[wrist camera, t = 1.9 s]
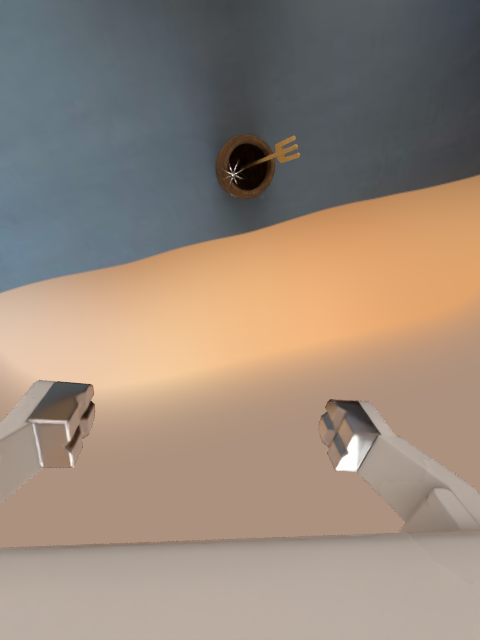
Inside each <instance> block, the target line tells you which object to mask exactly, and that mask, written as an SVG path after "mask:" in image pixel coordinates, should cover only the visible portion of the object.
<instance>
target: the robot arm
mask: <svg viewBox="0 0 480 640" xmlns="http://www.w3.org/2000/svg"><path fill="white" fill-rule="evenodd" d="M93 395H94V390H93V385H91V384H81V383H70V382H59V381H58V382H54V381H42V380H39V381H37V382H35V383H34V384H33V385H32V386H31V387H30V389H29V390H28V391H27V392H26V393H25V395H24V396H23V397H22V399H20V401H19V402H18V403H17V404H16V406H15V407H14V408H13V409H12V410H11V411H10V413H9V414H8V415H7V416H6V417H5V419H4V420H3V421H0V505H1V504H2V503H3V502H4V501H5V500H6V499H7V498H9V497H10V496H11V495H12V494H13V493H15V492H16V491H17V490H18V489H19V488H20V487H22V486H23V485H24V484H25V483H26V482H27V481H29V480H30V479H31V478H32V477H33V476H35V475H36V474H37V473H38V472H39V471H40V470H41V468H73V467H74V466H75V464H76V462H77V459H78V457H79V455H80V453H81V450H82V448H83V443H82V439H84V438H85V437H86V436H88V435H89V433H90V430H91V428H92V425H93V421H94V416H95V404H94V403H92V401H91V399H92V397H93ZM325 408H326V410H327V412H326V413H325V414H324V415H322V416H321V418H320V421H319V435H320V438H321V440H322V442H323V443H324V444H325V445H326V446H327V447H328V448H329V449H328V452H327V454H328V456H329V458H330V460H331V462H332V465H333V467H334V469H335V471H357V473H358V474H359V475H360V476H361V477H362V478H363V479H364V480H365V481H366V482H367V483H368V484H369V485H370V486H371V487H372V489H374V491H375V492H376V493H377V494H378V495H379V496H380V497H381V498H382V499H383V500H384V501H385V502H386V503H387V504H388V505H389V506H390V507H391V508H392V509H393V510H394V511H395V512H396V513H397V514H398V515H399V516H400V517H401V518H402V519H403V520H404V521H405V522H406V523H405V524H404V526H403V527H402V528H401V529H400V531H399V532H398V533H383V534H355V535H328V536H301V537H300V536H299V537H272V538H247V539H218V540H193V541H168V542H167V541H166V542H138V543H111V544H84V545H58V546H30V547H2V548H0V640H480V493H479V492H478V491H477V490H476V489H475V488H474V486H472V485H470V484H469V483H468V482H466V481H465V480H463V479H462V478H460V477H459V476H457V475H456V474H454V473H453V472H452V471H450V470H449V469H447V468H446V467H444V466H443V465H441V464H440V463H438V462H437V461H435V460H434V459H432V458H431V457H429V456H428V455H427V454H425V453H424V452H422V451H421V450H419V449H418V448H416V447H415V446H413V445H412V444H410V443H409V442H407V441H406V440H404V439H403V438H402V437H400V436H395V434H394V433H393V431H392V430H391V429H390V427H389V426H388V425H387V423H386V422H385V421H384V419H383V418H382V417H381V415H380V414H379V413H378V411H377V410H376V409H375V407H374V406H373V405H372V403H370V402H369V401H357V400H356V401H353V400H335V399H331V400H329V401H328V402H327V404H326V406H325Z"/></svg>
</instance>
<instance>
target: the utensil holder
mask: <svg viewBox="0 0 480 640" xmlns="http://www.w3.org/2000/svg"><path fill="white" fill-rule="evenodd" d="M294 140H295V136H292V137H290V138H288V139H286V140H284V141H282V142H279V143H277V144H276V145H275V153H274V154H273V153H272V150H271V149H270V147H269V146H268V144H267V143H266V142H264V141H263V140H262V139H260V138H258V137H256V136H253V135H248V134H243V135H238V136H235V137H233V138H232V139H230V140H229V141H228V142H227V143H226V144H225V145H224V146H223V147H222V149H221V150H220V152H219V154H218V157H217V161H216V174H217V178H218V181H219V183H220V185H221V186H222V187H223V189H224V190H225V191H226V192H228V193H229V194H230V195H232V196H234V197H237V198H241V199H249V198H253V197H255V196H257V195H259V194H261V193H262V192H263V191H264V190H265V189H266V188H267V187H268V186H269V184H270V183H271V181H272V179H273V176H274V172H275V159H274V158H275V157H277V159H278V160H279V162H280V163H283V162H286V161H289V160H292V159H295V158H298V157H300V153H296V154H293V155H291V156H288V157H286V155H285V153H287V152H290V151H293V150H295V149H297V148H298V145H297V144H296V145H293V146H291V147H288V148H286V149H284V148H283V145H285V144H287V143H290V142H292V141H294Z"/></svg>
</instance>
